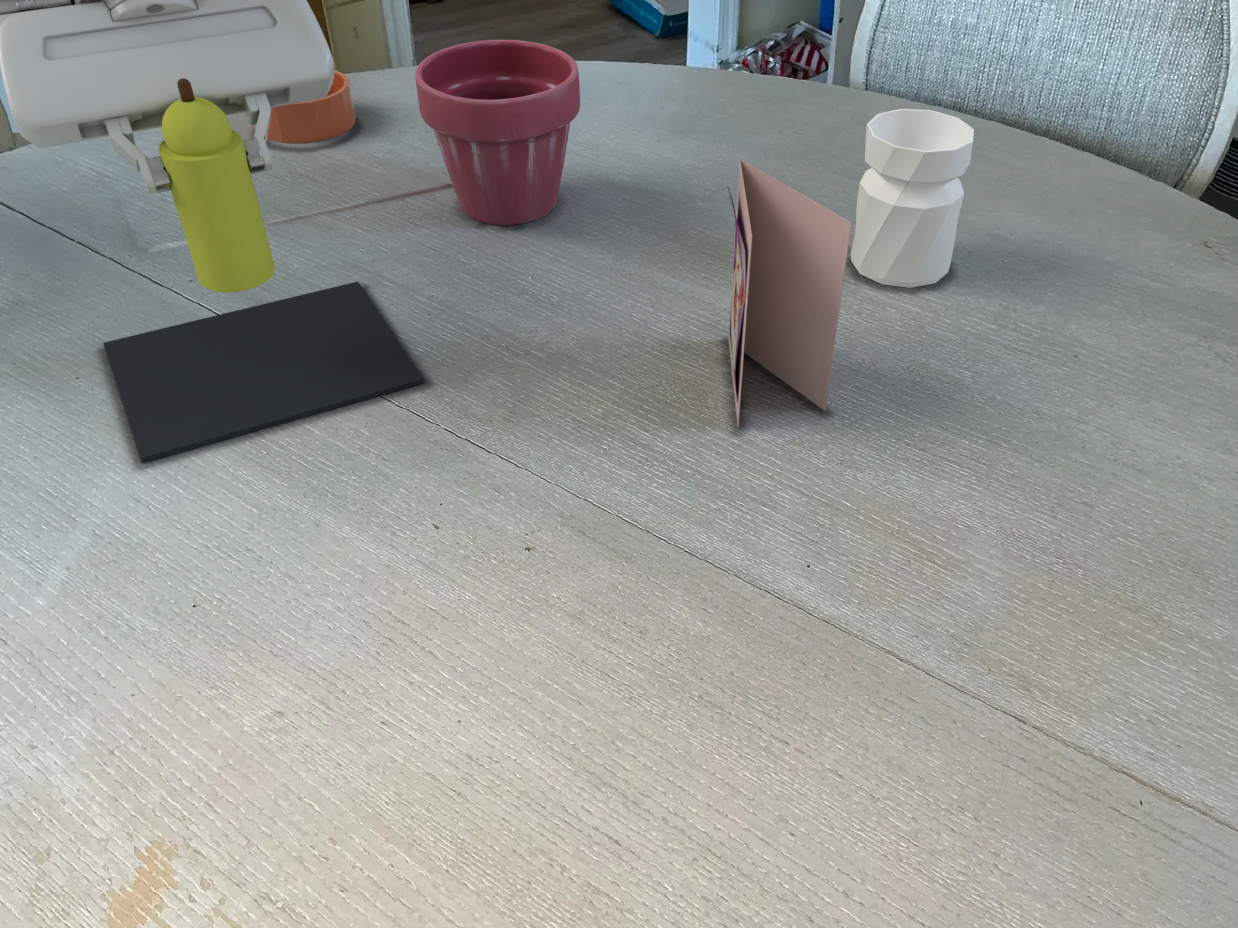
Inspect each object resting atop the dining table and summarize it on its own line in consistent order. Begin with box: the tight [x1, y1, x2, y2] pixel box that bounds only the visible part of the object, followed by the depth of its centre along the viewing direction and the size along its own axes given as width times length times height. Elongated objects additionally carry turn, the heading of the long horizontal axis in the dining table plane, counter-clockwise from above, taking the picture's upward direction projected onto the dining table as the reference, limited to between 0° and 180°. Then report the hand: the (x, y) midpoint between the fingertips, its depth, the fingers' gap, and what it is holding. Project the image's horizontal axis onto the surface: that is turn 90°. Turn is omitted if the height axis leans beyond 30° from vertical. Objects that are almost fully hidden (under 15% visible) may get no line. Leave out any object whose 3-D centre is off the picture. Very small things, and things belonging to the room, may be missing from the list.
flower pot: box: [414, 39, 581, 226], centre depth 100 cm, size 14×14×13 cm
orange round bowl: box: [253, 69, 357, 144], centre depth 115 cm, size 10×10×4 cm
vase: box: [849, 108, 975, 289], centre depth 93 cm, size 9×9×12 cm
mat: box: [102, 281, 425, 463], centre depth 83 cm, size 20×16×1 cm
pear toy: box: [158, 78, 276, 293], centre depth 74 cm, size 5×5×14 cm
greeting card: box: [726, 158, 852, 429], centre depth 78 cm, size 11×7×15 cm, turn 1°
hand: (212, 179), depth 73 cm, fingers closed on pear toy, 5 cm apart
